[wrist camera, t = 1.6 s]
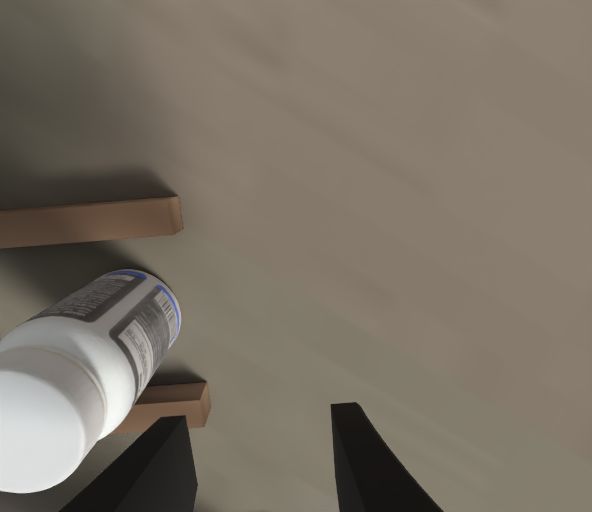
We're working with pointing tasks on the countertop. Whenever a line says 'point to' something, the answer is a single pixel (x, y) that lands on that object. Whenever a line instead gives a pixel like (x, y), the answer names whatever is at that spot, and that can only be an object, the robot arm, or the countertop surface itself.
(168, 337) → the pill bottle
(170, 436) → the robot arm
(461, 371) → the countertop surface
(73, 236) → the gauge rails
